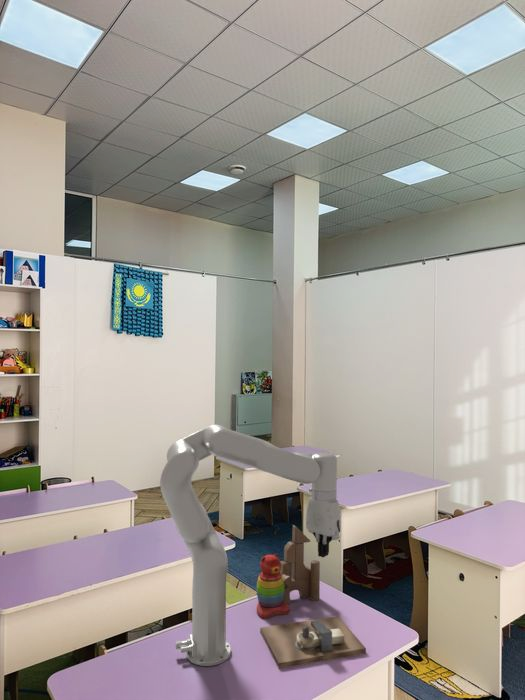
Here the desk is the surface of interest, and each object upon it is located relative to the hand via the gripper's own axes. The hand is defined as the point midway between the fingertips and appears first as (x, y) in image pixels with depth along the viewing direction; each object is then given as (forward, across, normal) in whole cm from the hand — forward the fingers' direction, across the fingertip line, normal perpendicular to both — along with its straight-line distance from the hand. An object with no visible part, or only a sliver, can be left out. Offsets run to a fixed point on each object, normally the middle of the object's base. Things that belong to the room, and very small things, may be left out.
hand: (323, 555), depth 150 cm
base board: (+24, -1, -5) cm, 25 cm away
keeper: (+23, +3, -6) cm, 24 cm away
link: (+22, +3, -6) cm, 23 cm away
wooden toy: (+24, -20, +14) cm, 34 cm away
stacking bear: (+24, -22, +2) cm, 33 cm away
